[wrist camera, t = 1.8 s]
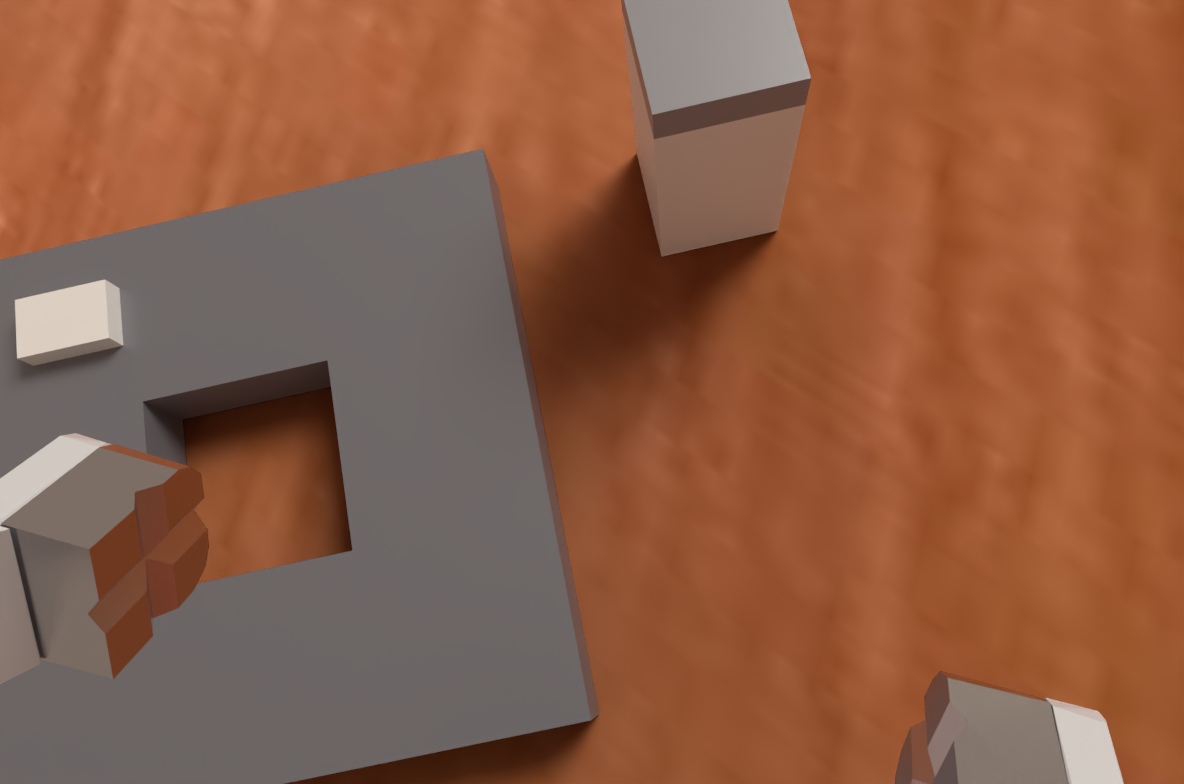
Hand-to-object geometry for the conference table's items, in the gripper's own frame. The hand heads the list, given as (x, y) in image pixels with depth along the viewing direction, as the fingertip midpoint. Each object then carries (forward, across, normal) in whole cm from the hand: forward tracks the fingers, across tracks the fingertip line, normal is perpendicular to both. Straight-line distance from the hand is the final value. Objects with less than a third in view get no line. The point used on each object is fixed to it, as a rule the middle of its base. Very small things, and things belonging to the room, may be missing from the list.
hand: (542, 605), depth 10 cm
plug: (+24, +1, +3) cm, 25 cm away
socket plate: (+15, +12, +13) cm, 23 cm away
